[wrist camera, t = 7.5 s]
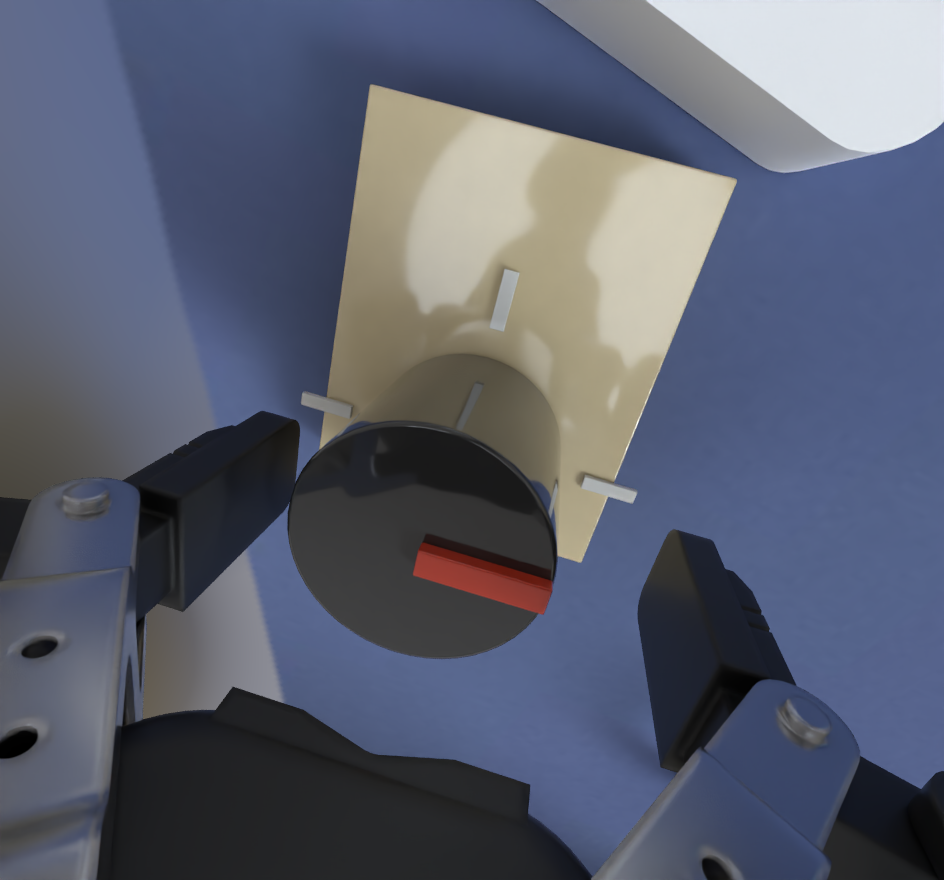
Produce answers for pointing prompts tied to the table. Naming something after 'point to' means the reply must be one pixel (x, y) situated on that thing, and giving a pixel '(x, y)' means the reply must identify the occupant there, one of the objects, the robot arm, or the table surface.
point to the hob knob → (435, 511)
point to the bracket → (783, 69)
